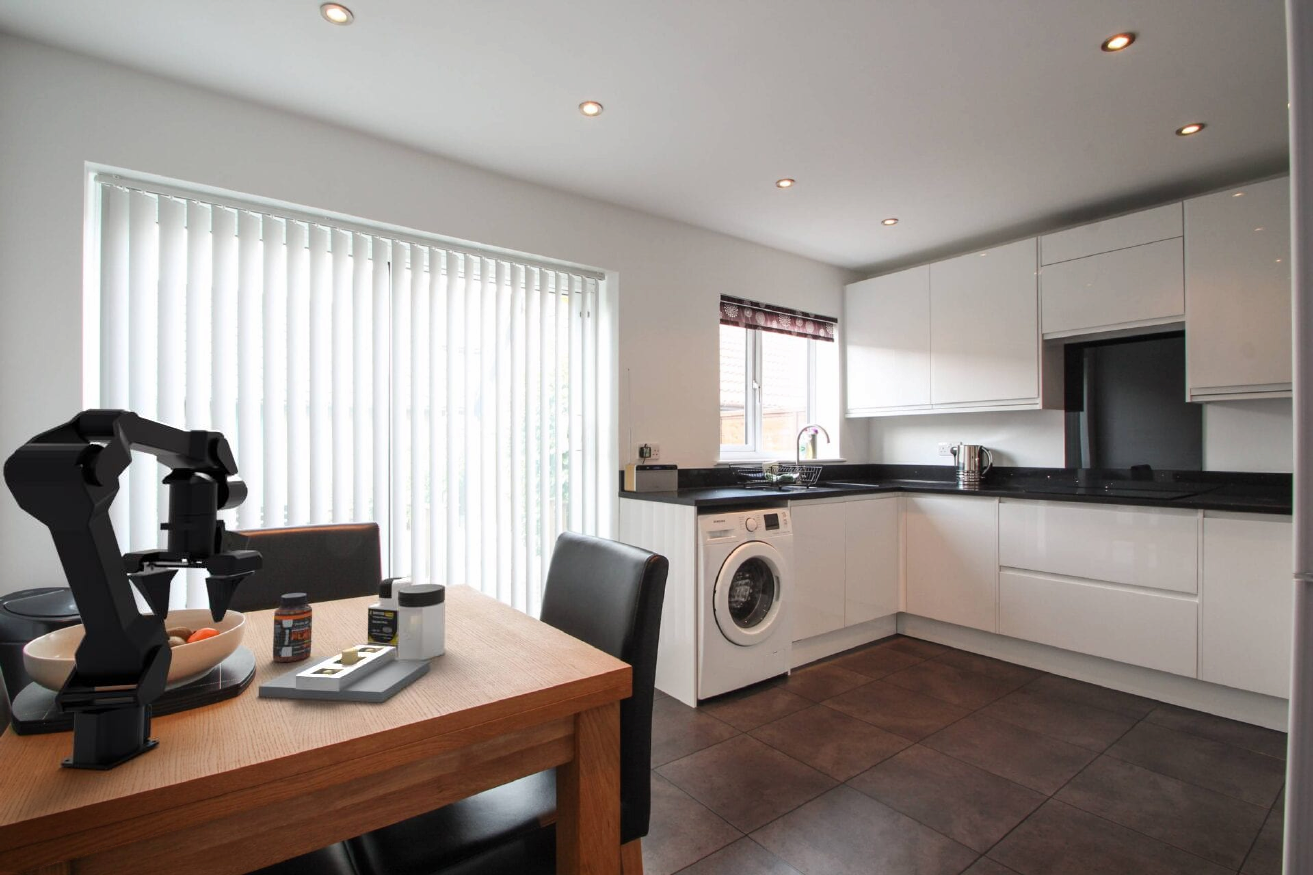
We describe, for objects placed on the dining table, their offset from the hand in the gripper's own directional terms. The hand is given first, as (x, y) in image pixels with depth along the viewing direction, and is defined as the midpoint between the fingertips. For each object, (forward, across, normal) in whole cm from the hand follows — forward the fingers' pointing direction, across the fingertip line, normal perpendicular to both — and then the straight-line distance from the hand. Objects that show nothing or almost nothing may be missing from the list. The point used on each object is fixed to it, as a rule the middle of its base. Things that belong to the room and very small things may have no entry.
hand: (190, 620), depth 88 cm
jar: (+12, -22, -26) cm, 36 cm away
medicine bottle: (+12, -12, -34) cm, 38 cm away
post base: (+12, -18, -11) cm, 24 cm away
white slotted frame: (+10, -18, -11) cm, 24 cm away
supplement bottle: (+12, 0, -21) cm, 24 cm away
